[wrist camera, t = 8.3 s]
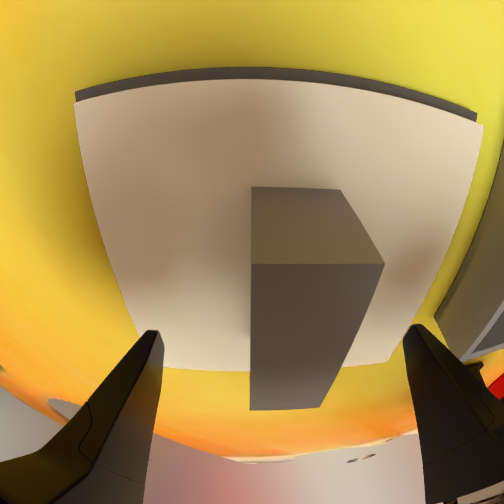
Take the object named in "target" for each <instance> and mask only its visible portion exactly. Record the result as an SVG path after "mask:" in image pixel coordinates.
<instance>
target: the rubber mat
mask: <svg viewBox="0 0 504 504" xmlns="http://www.w3.org/2000/svg"><path fill="white" fill-rule="evenodd" d="M223 79H269V80H289V81H302V82H313V83H322V84H330V85H337V86H344V87H350V88H356V89H362V90H367V91H372V92H377V93H382V94H387V95H391V96H395V97H399V98H403V99H407V100H411V101H415V102H418V103H422V104H425V105H428V106H432V107H435V108H438V109H441V110H444V111H447V112H450V113H453V114H456V115H458V116H461V117H464V118H466V119H469V120H471V121H474V122H476V119H477V113H476V112H473V111H471V110H469V109H466V108H464V107H461V106H459V105H456V104H453V103H451V102H448V101H445V100H442V99H440V98H437V97H434V96H431V95H428V94H424V93H421V92H418V91H414V90H411V89H407V88H404V87H400V86H396V85H392V84H388V83H384V82H379V81H375V80H370V79H365V78H360V77H355V76H349V75H343V74H336V73H329V72H321V71H313V70H302V69H290V68H272V67H221V68H203V69H191V70H180V71H172V72H164V73H157V74H150V75H144V76H139V77H133V78H128V79H123V80H118V81H114V82H110V83H105V84H101V85H97V86H93V87H90V88H86V89H83V90H79V91H76V92H75V97H76V102H79V101H82V100H85V99H89V98H93V97H97V96H101V95H106V94H110V93H115V92H120V91H125V90H130V89H136V88H141V87H148V86H155V85H162V84H170V83H179V82H190V81H203V80H223Z"/></svg>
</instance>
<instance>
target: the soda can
mask: <svg viewBox="0 0 504 504" xmlns="http://www.w3.org/2000/svg"><path fill="white" fill-rule="evenodd" d="M488 389H489V390H490V391H491V392H492V393H493V394H494V395H495V396H496V397H497V398H498V399H499V400H500V401H501V402H503V403H504V374H503V375H501V376H500V377H499V378H498V379H497V380H495V381H494V382H493V383H492V384H491V385H490V387H489V388H488Z"/></svg>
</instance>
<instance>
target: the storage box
mask: <svg viewBox="0 0 504 504" xmlns="http://www.w3.org/2000/svg"><path fill="white" fill-rule="evenodd" d="M434 318H435V320H436V322H437V324H438V326H439V328H440V330H441V332H442V334H443V336H444V338H445V341H446V343H447V345H448V347H449V349H450V351H451V352H452V353H453V354H454V355H455V356H456V357H457V358H458V359H459V360H460V361H461V362H464V361H467V360H470V359H474V358H477V357H480V356H483V355H486V354H489V353H491V352H494V351H497V350H500V349H502V348H504V143H503V148H502V152H501V157H500V161H499V165H498V169H497V172H496V176H495V180H494V183H493V186H492V190H491V193H490V196H489V199H488V202H487V205H486V208H485V211H484V213H483V216H482V219H481V222H480V224H479V227H478V229H477V232H476V234H475V237H474V239H473V241H472V244H471V246H470V248H469V251H468V253H467V255H466V257H465V259H464V262H463V264H462V266H461V268H460V270H459V272H458V274H457V276H456V278H455V280H454V282H453V284H452V286H451V288H450V289H449V291H448V293H447V295H446V297H445V299H444V300H443V302H442V304H441V306H440V307H439V309H438V311H437V312H436V314H435V316H434Z"/></svg>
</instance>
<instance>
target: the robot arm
mask: <svg viewBox="0 0 504 504" xmlns="http://www.w3.org/2000/svg"><path fill="white" fill-rule="evenodd" d="M403 349H404V355H405V362H406V369H407V376H408V381H409V386H410V391H411V395H412V400H413V405H414V410H415V415H416V421H417V427H418V433H419V440H420V446H421V454H422V462H423V473H424V485H425V501H426V504H437V503H441V502H443V503H444V504H504V403H503V402H501V401H500V400H499V399H498V398H497V397H496V396H495V395H494V394H493V393H492V392H491V391H490V390H489V389H488V388H487V387H486V386H485V383H484V381H483V378H482V376H481V374H480V371H479V370H480V369H481V368H482V367H483V366H484V364H483V362H481V363H478V364H475V365H472V366H469V367H466V366H465V365H464V364H463V363H462V362H461V361H460V360H459V359H458V358H457V357H456V356H455V355H454V354H453V353H452V352H451V351H450V350H449V349H448V348H447V347H446V346H445V345H443V344H442V343H441V342H440V341H439V340H438V339H437V338H436V337H435V336H434V335H433V334H432V333H431V332H430V331H429V330H428V329H426V328H425V327H424V326H423V325H422V324H413V325H411V326H410V328H409V329H408V331H407V333H406V334H405V336H404V338H403ZM164 352H165V346H164V342H163V340H162V337H161V335H160V332H159V331H158V330H147V331H145V333H144V334H143V335H142V336H141V337H140V338H139V340H138V341H137V342H136V343H135V344H134V345H133V346H132V348H131V349H130V350H129V351H128V352H127V353H126V355H125V356H124V357H123V358H122V359H121V361H120V362H119V363H118V364H117V365H116V366H115V368H114V369H113V370H112V371H111V372H110V374H109V375H108V376H107V377H106V378H105V380H104V381H103V382H102V383H101V384H100V385H99V387H98V388H97V389H96V390H95V392H94V393H93V394H92V395H91V396H90V398H89V399H88V401H86V402H85V404H84V405H83V406H82V407H81V409H80V410H79V411H78V412H77V413H76V414H75V415H74V417H73V418H72V419H71V420H70V421H69V422H68V423H67V424H66V425H65V426H64V427H63V428H62V429H61V430H60V431H59V432H58V433H57V434H56V435H55V436H54V437H53V438H52V439H51V440H50V441H49V442H48V443H47V444H46V445H44V446H43V447H42V448H41V449H39V450H38V451H36V452H34V453H31V454H28V455H25V456H22V457H18V458H14V459H11V460H7V461H3V462H0V504H143V496H144V489H145V485H144V484H145V480H146V473H147V466H148V459H149V453H150V446H151V441H152V434H153V429H154V424H155V418H156V413H157V407H158V402H159V397H160V392H161V384H162V373H163V362H164Z"/></svg>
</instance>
